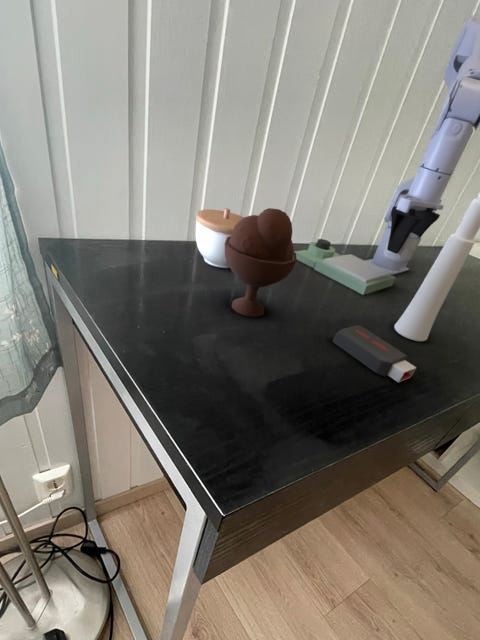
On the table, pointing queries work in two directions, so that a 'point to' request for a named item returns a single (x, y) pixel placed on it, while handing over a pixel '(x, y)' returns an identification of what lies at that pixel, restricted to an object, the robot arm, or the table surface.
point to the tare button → (323, 244)
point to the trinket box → (214, 234)
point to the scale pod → (315, 254)
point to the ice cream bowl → (260, 255)
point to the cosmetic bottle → (440, 278)
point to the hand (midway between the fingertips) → (399, 250)
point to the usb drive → (374, 353)
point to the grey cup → (404, 249)
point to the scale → (355, 273)
